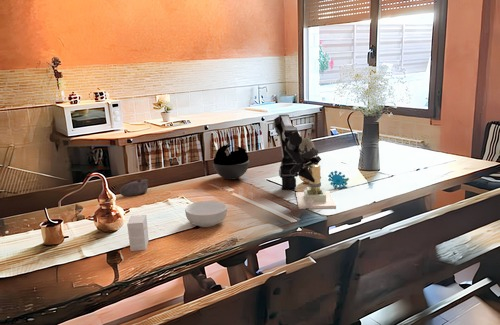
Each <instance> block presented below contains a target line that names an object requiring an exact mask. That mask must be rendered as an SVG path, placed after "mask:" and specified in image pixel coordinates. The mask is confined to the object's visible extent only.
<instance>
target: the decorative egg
mask: <svg viewBox="0 0 500 325" xmlns="http://www.w3.org/2000/svg"><path fill="white" fill-rule="evenodd" d="M313 147H315V148H316V146H315V144H314V142H313V140H311V139H310V138H309V137H302V143H301V145H300V149H301V150H302V151H306V152H308V151H310V149H311V148H313ZM312 158H313V157H312ZM309 161H310V160H309Z"/></svg>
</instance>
